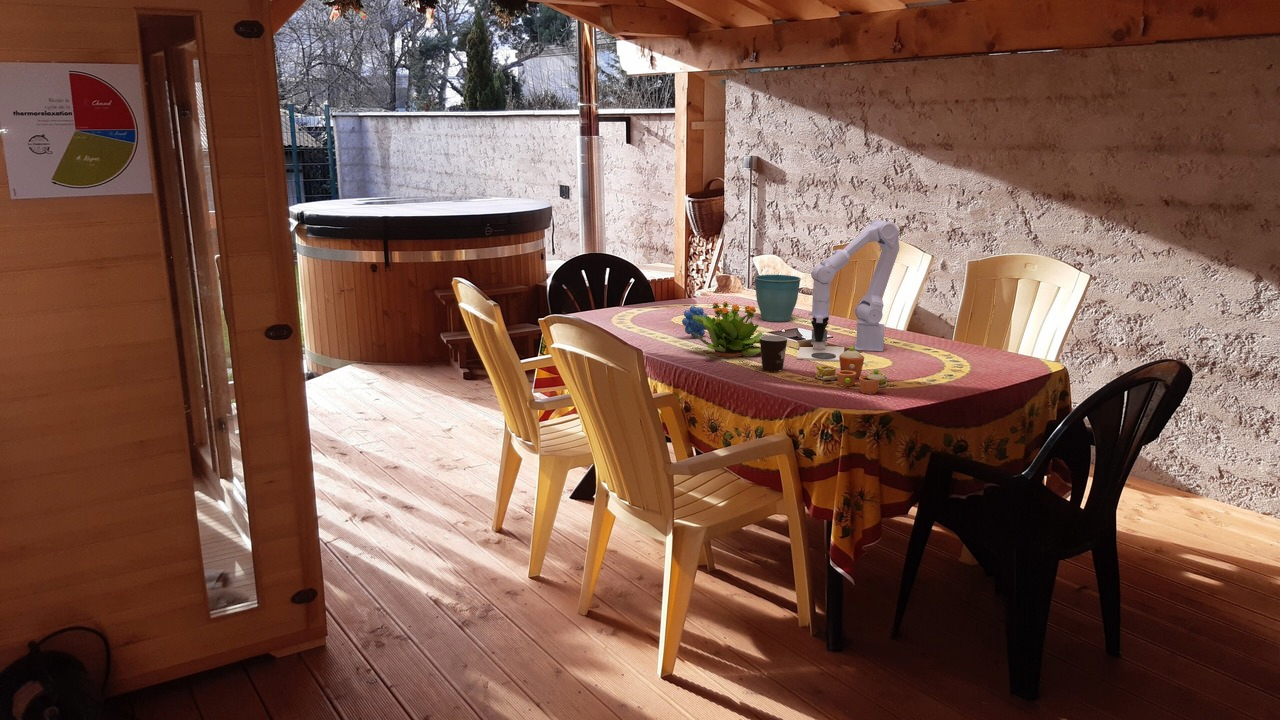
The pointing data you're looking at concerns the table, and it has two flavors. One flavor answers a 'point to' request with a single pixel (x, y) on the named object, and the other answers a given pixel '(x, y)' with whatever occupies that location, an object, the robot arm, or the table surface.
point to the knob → (823, 336)
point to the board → (820, 352)
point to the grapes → (694, 322)
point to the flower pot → (776, 296)
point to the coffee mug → (773, 352)
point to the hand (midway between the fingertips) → (819, 339)
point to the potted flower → (731, 331)
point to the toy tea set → (852, 372)
